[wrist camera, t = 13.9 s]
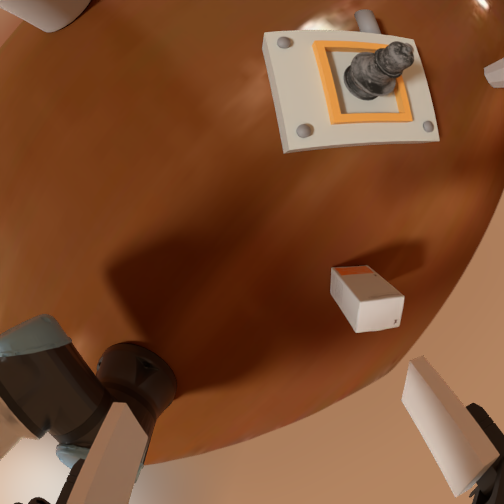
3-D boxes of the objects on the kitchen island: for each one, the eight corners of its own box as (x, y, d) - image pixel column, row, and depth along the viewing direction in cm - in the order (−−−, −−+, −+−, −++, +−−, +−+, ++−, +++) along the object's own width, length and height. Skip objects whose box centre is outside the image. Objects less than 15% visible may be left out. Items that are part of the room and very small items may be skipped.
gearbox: (283, 153, 35) (291, 148, 29) (255, 22, 29) (257, -1, 23) (420, 143, 34) (445, 140, 28) (389, 25, 29) (407, 9, 23)
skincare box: (367, 263, 39) (406, 295, 28) (365, 290, 40) (400, 328, 29) (329, 266, 39) (359, 301, 28) (328, 293, 40) (355, 335, 29)
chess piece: (368, 57, 27) (413, 19, 15) (390, 95, 28) (445, 70, 17) (332, 68, 27) (370, 25, 16) (355, 108, 29) (405, 81, 17)
